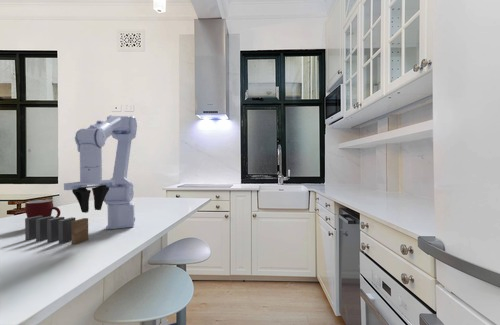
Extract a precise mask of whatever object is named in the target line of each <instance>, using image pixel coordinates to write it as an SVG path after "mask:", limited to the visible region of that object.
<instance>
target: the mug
mask: <svg viewBox="0 0 500 325" xmlns="http://www.w3.org/2000/svg"><path fill="white" fill-rule="evenodd" d="M53 202H54V201H53V200H52V199H40V200H38V199H37V200H32V201H27V202H25V203H24V205H25V206H24V207H25V208H24V209H25V214H26V218H30V217H35V216H43V218H44V217H48V216H52V214H53V210H55V211H56V216H54V218H57V217H61V210H60V208H58V206H54V203H53Z"/></svg>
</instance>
